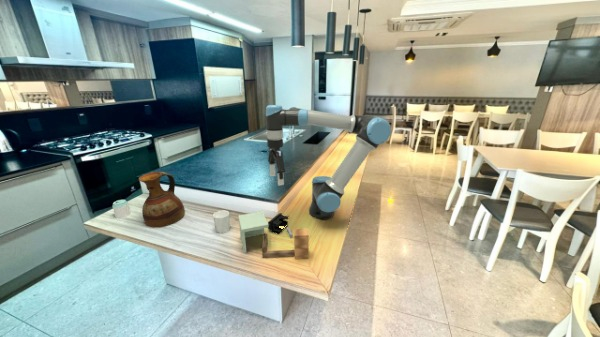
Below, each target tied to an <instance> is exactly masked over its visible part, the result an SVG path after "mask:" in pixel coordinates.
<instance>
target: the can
mask: <svg viewBox="0 0 600 337" xmlns="http://www.w3.org/2000/svg"><path fill="white" fill-rule="evenodd" d="M112 209H113V213H114V217H115V218H116V219H124V218H127V217H129V216H130V215H131V214H132V212H131V210H130V209H131V208H130V205H129V202H128V201H127V200H126V199H118V200H116V201H114V202H113V203H112Z"/></svg>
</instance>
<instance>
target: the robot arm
mask: <svg viewBox="0 0 600 337" xmlns="http://www.w3.org/2000/svg"><path fill="white" fill-rule="evenodd" d="M265 121H266V122H265V124H266V132H265V135H266V137H267V140H266V143H267V148H268V150H269V151H268V159H267V160H268V163H269V176H270V177H276V174H277V186H278V187H279V186H284V185H285V180H284V177H285V176H284V173H285V172H286V168H285V161H284V156H283V153H284V152H283V151H281V150H280V149H281V148H283V147H284V139H283V138H284V129H283V127H304V126H307V125H308V126H315V127H316V126H317V127H323V128H329V129H335V130H343V131H347V132H348V133H350V134H355V139H356V140H355V143H354V144H353V145H352V146H351V148H350V150H349V151H348V152H347V154H346V155H345V157H344V159H343V160H342V161H341V163H340V164H339V166H338V167H337V168H336V170H335V172H334V173H333V174H332V176H325V175H320V176H319V175H318V176H315V177H313V178H312V180H311V184H312V185H311V202H310V206H309V208H308V213H309V215H310V216H311V217H312V218H314V219H318V220H327V219H331V218H333V216H334V215H335V211H337V210H339V208H340V206H341V202H342V200H341V199H342V197H343V195H345V188H346V187H347V185H348V184H349V182H350V180H351V179H353V176H354V175H355V174H356V172H357V171H358V170H359V169H360V167H361V166H362V164H363V162H364V161H365V160H366V158H367V157H368V156H369V154H370V153H371V151H373V150H377V149H378V148H379V146H380V145H381V144H384V143H385V142H387V141H388V140H389V138H390V136H391V134H392V128H391V125H390V123H389V122H388V120H386V119H384V118H382V117H379V116H375V115H360V114H359V115H358V114H352V115H345V114H337V113H333V112H331V113H330V112H325V111H319V110H312V109H306V108H305V109H304V108H299V107H295V106H293V107H290V108H288V109H283V106H282V105H280V104H270V105H269V104H268V105H267V106H266V107H265ZM276 169H277V171H276Z"/></svg>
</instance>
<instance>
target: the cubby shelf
mask: <svg viewBox="0 0 600 337" xmlns="http://www.w3.org/2000/svg"><path fill="white" fill-rule="evenodd" d="M268 222H269V221H267V218H266V215H265V214H264V211H262V210H261V211H258V212H251V213H246V214H241V215H240V214H239V215H238V224H239V225H238V226H239V233H240V240H241V247H242V252H243V254H247V245H246V239H247V238H251V237H255V236H256V235H257V236H261V235H260V234H262V235H264V234H266V233H265V229H268V227H269V226H268Z"/></svg>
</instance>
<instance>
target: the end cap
mask: <svg viewBox="0 0 600 337" xmlns="http://www.w3.org/2000/svg"><path fill="white" fill-rule="evenodd" d="M285 219H286V220H285ZM288 219H289V218H288V217H287V216H285V215H283V213H282V212H280V213H278V214H276V215H275V216H274V217H272V218H271V219H270V220H269V221H267V222H268V226H269V227H268V228H267V229H268V231H269V232H271V233H273V232H274V233H273V234H276V233H277V234H276V235H280V234H281V233H282V232H283V231H284V230H285V229H286V227H289V226H288V224H289V221H288ZM286 225H287V226H286ZM279 226H284V227H285V226H286V227H285V229H284V228H283V229H284V230H283V229H281V228H279ZM282 230H283V231H282Z"/></svg>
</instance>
